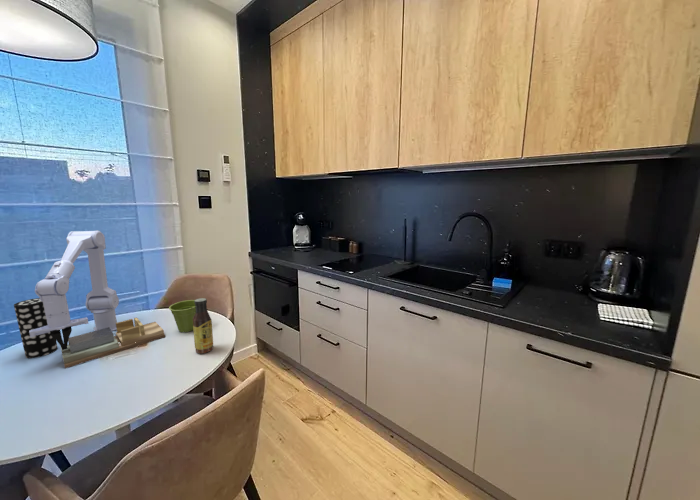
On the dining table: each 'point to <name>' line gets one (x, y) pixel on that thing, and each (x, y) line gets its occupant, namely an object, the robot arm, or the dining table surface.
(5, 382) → the dining table surface
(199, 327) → the sauce bottle
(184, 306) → the plant pot
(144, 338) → the tan piece
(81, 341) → the metal block
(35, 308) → the white-spotted black cylinder
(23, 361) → the dining table surface
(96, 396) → the dining table surface
